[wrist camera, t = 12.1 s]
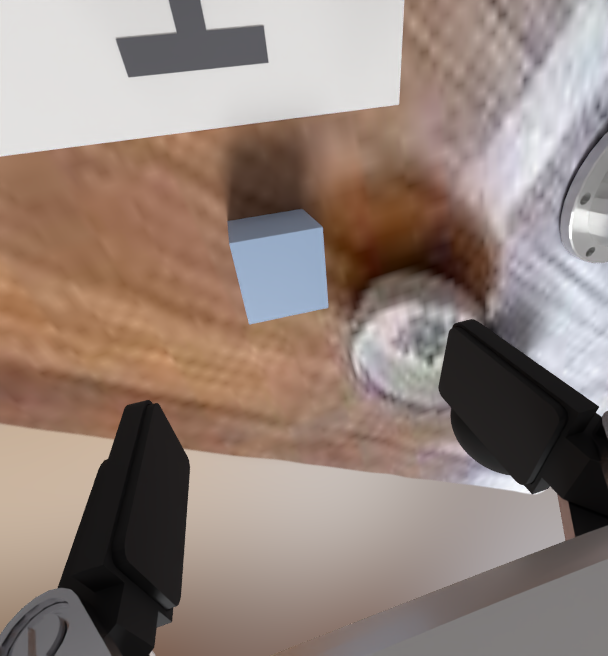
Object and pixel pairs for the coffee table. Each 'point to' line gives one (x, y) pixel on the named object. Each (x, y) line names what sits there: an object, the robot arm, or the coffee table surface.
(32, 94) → the letter sheet
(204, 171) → the coffee table surface
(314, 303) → the blue cube
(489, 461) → the decorative ball
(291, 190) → the coffee table surface
